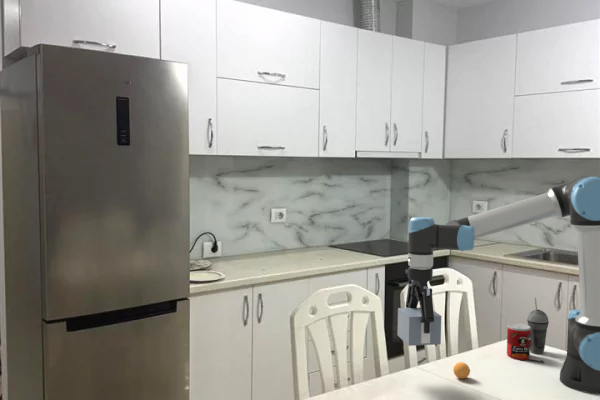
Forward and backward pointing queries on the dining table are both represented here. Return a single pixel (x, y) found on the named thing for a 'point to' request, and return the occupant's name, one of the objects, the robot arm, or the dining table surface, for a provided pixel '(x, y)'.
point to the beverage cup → (537, 330)
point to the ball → (461, 370)
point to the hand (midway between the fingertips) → (418, 337)
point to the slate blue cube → (417, 327)
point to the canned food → (518, 341)
